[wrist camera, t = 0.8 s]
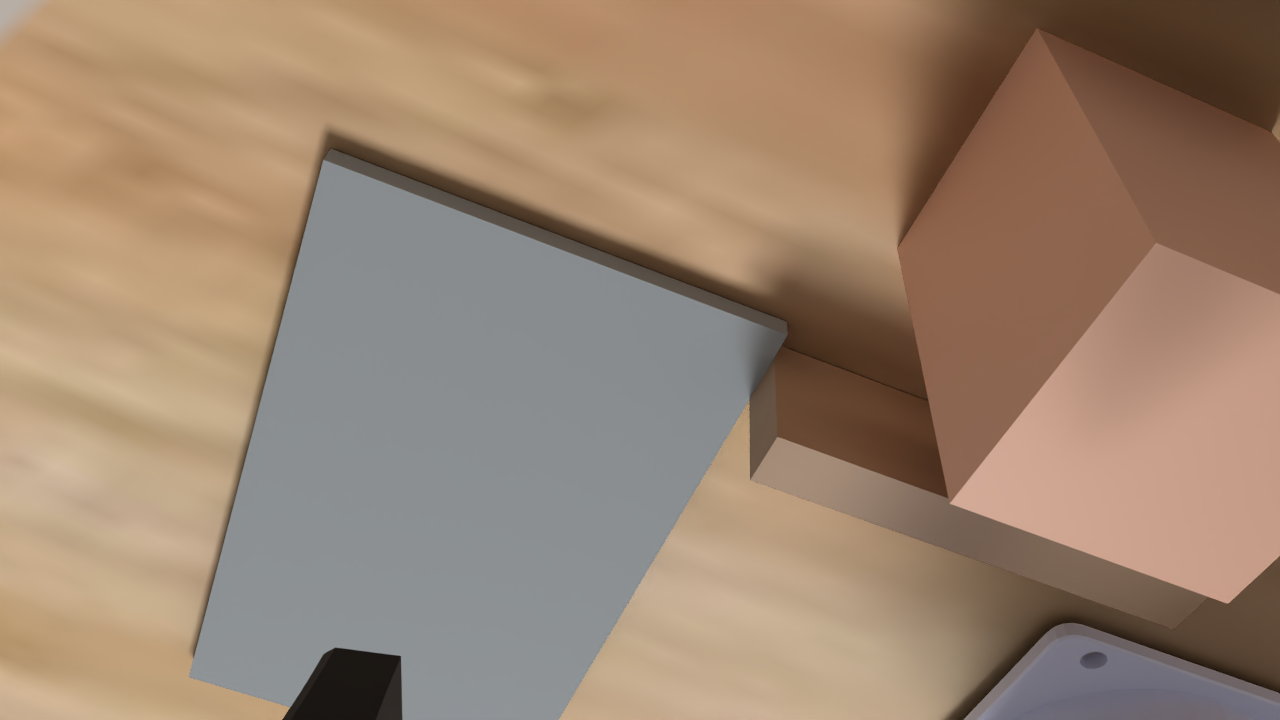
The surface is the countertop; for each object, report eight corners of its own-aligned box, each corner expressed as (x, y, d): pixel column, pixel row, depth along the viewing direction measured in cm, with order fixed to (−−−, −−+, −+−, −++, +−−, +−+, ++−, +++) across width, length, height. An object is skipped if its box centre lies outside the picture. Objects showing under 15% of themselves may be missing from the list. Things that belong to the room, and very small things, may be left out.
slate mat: (786, 321, 20) (787, 335, 20) (527, 761, 28) (524, 776, 28) (330, 148, 18) (322, 159, 18) (195, 663, 26) (188, 677, 26)
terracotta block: (1270, 132, 17) (1473, 375, 12) (1108, 332, 20) (1228, 603, 15) (1036, 27, 17) (1155, 242, 12) (897, 248, 19) (950, 503, 14)
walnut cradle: (1682, 21, 16) (1818, 97, 14) (1172, 540, 22) (1215, 644, 20) (1127, -256, 14) (1190, -217, 12) (749, 385, 21) (749, 480, 19)
